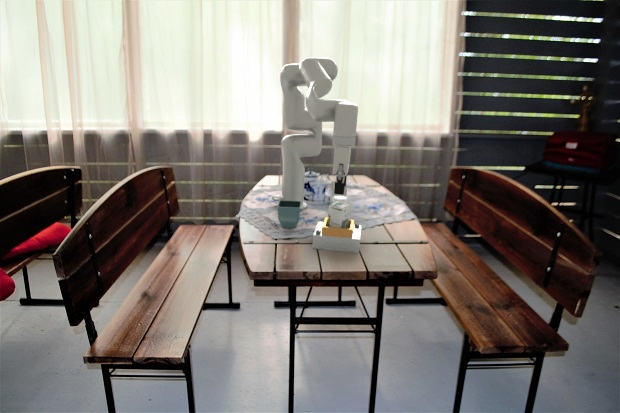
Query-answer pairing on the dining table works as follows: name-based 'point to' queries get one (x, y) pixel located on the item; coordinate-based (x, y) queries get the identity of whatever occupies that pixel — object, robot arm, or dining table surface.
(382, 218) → the dining table surface
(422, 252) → the dining table surface
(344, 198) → the white cylinder
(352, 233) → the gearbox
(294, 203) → the flower pot
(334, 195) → the grey block
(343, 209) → the syrup box
